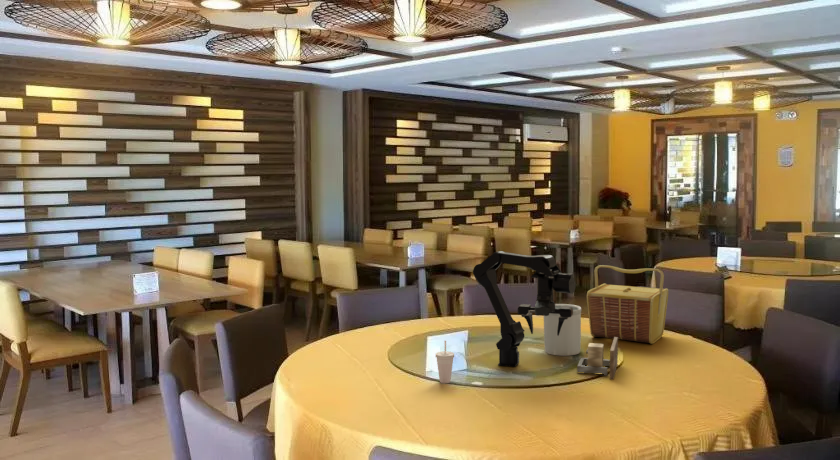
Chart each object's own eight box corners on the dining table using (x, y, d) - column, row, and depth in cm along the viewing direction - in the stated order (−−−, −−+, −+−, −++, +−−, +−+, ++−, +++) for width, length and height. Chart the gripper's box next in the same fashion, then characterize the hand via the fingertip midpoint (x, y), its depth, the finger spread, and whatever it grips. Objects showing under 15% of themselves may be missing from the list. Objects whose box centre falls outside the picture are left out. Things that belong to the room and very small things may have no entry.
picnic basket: (670, 335, 305) (671, 265, 303) (654, 348, 284) (656, 273, 281) (603, 327, 321) (604, 260, 318) (583, 339, 299) (584, 268, 297)
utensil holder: (538, 354, 277) (539, 309, 275) (547, 345, 290) (547, 302, 289) (577, 357, 271) (577, 312, 270) (583, 348, 285) (584, 304, 283)
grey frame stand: (575, 376, 248) (575, 347, 247) (582, 361, 266) (582, 334, 266) (613, 379, 243) (613, 350, 243) (617, 363, 262) (617, 337, 261)
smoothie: (456, 379, 245) (456, 339, 244) (451, 385, 239) (451, 344, 238) (439, 378, 247) (438, 338, 246) (433, 383, 241) (432, 342, 240)
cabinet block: (585, 371, 254) (586, 346, 253) (587, 367, 258) (587, 342, 258) (602, 372, 252) (602, 347, 251) (603, 368, 257) (603, 344, 256)
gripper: (514, 293, 248) (514, 338, 249) (569, 296, 242) (568, 341, 243) (520, 288, 258) (520, 330, 260) (573, 290, 252) (572, 334, 254)
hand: (545, 334), depth 254 cm, fingers open, 9 cm apart
